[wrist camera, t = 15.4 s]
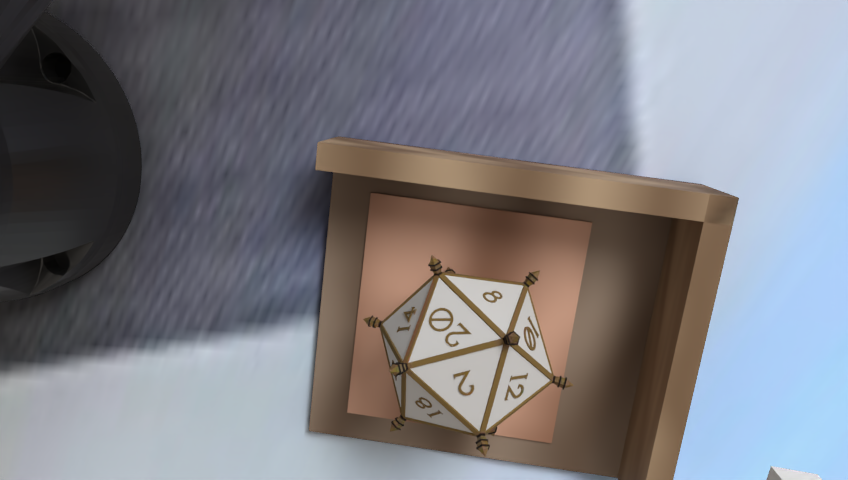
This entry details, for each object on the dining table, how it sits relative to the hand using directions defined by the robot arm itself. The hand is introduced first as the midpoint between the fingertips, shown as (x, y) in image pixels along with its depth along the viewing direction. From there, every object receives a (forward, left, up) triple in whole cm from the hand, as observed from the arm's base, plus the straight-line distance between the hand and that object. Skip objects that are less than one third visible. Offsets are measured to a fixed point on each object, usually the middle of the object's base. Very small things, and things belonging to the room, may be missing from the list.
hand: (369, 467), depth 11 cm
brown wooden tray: (+4, -4, -23) cm, 23 cm away
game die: (+2, -5, -22) cm, 23 cm away
